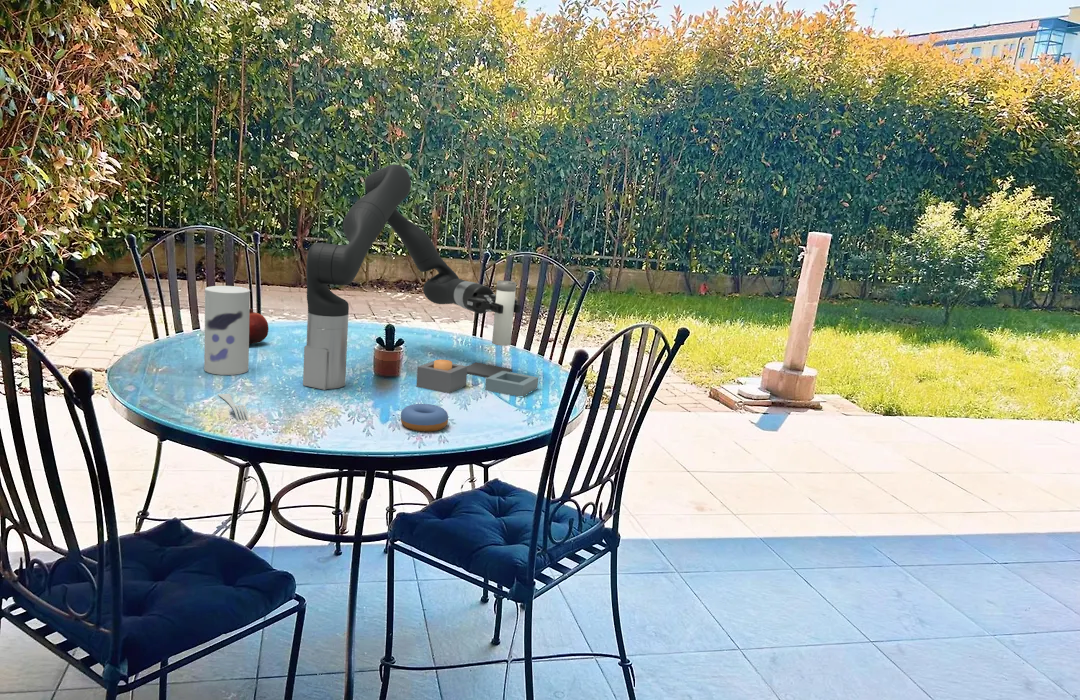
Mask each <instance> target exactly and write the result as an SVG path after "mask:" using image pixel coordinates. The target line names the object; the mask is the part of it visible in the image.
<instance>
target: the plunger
mask: <svg viewBox="0 0 1080 700" xmlns="http://www.w3.org/2000/svg"><path fill="white" fill-rule="evenodd" d="M433 361H434V368H437V369H442V370H447V371H448V370H450V369H452V363H453V361H452V360H448V359H436V360H433Z"/></svg>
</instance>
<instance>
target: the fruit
mask: <svg viewBox="0 0 1080 700" xmlns="http://www.w3.org/2000/svg"><path fill="white" fill-rule="evenodd" d="M268 334H269V323H268V320H267V319H266V317H264V315H263V314H261V313H260V312H259V313H258V312H254V309H253V308H250V313H249V345H250V344H251V345H252V344H258V343H261V342H263V341H264V340H265V339H266V338H267V336H268Z"/></svg>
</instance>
